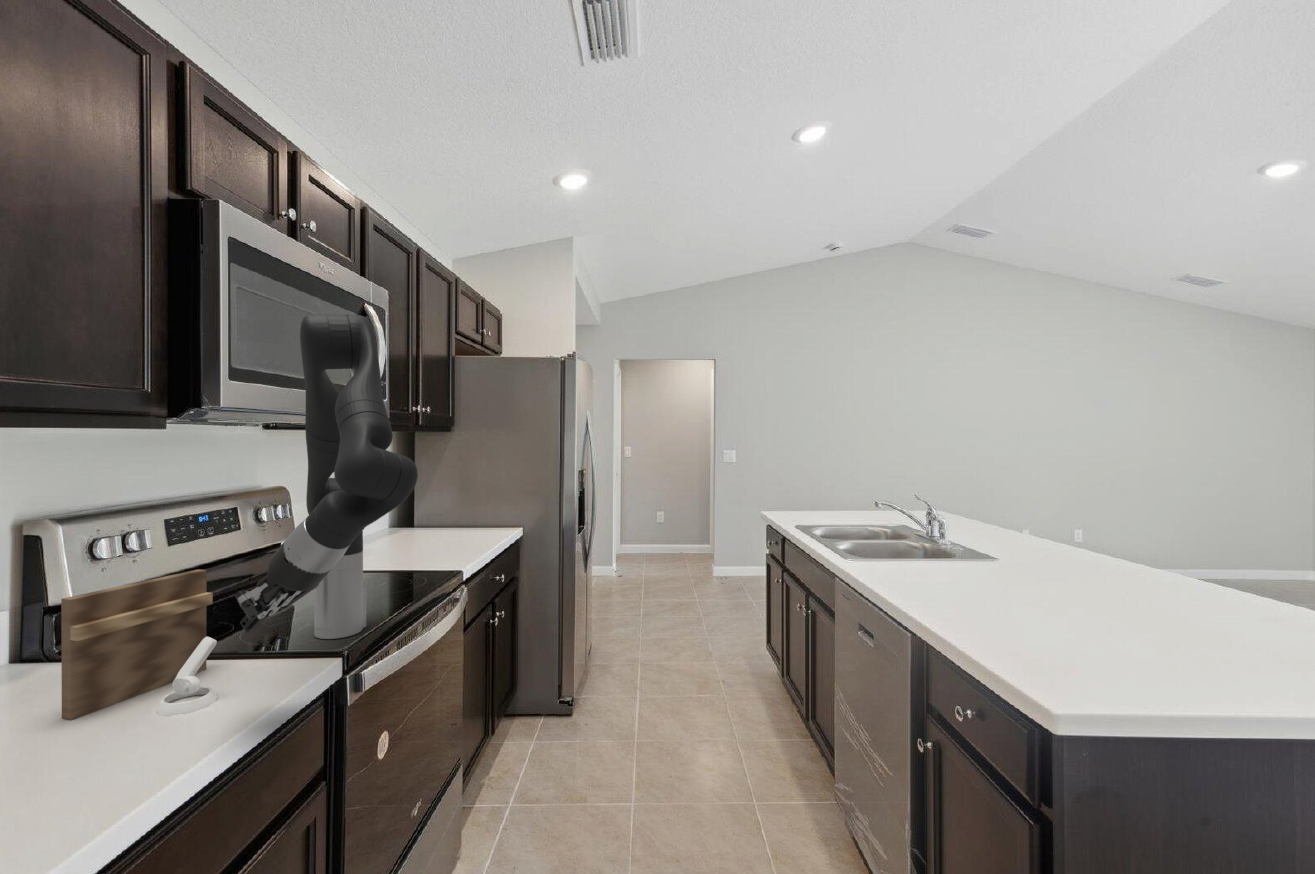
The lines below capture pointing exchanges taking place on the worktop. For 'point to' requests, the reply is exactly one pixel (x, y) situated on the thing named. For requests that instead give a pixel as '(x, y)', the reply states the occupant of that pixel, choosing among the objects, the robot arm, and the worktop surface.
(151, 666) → the wall board
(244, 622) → the robot arm
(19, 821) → the worktop surface
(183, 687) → the white lever switch
